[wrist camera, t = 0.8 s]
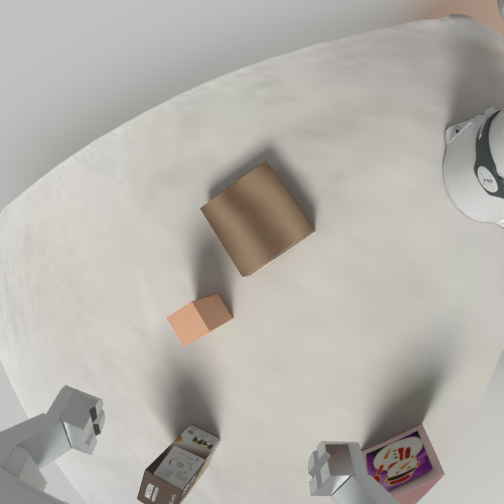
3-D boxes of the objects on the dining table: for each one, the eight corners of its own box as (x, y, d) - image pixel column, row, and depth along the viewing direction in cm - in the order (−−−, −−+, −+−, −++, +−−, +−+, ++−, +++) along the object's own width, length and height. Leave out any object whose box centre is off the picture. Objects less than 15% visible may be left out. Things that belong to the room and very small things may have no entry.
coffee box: (189, 422, 51) (144, 467, 36) (221, 438, 50) (183, 489, 34) (178, 454, 52) (135, 499, 36) (207, 469, 50) (170, 519, 35)
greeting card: (420, 419, 41) (443, 470, 27) (431, 449, 40) (452, 500, 26) (358, 448, 44) (360, 504, 29) (371, 475, 43) (376, 531, 28)
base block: (271, 168, 49) (266, 160, 45) (315, 231, 47) (313, 229, 43) (210, 211, 51) (200, 208, 47) (249, 275, 49) (242, 276, 46)
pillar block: (218, 293, 50) (191, 301, 40) (233, 318, 49) (209, 331, 40) (196, 307, 51) (166, 317, 41) (211, 331, 50) (184, 346, 41)
